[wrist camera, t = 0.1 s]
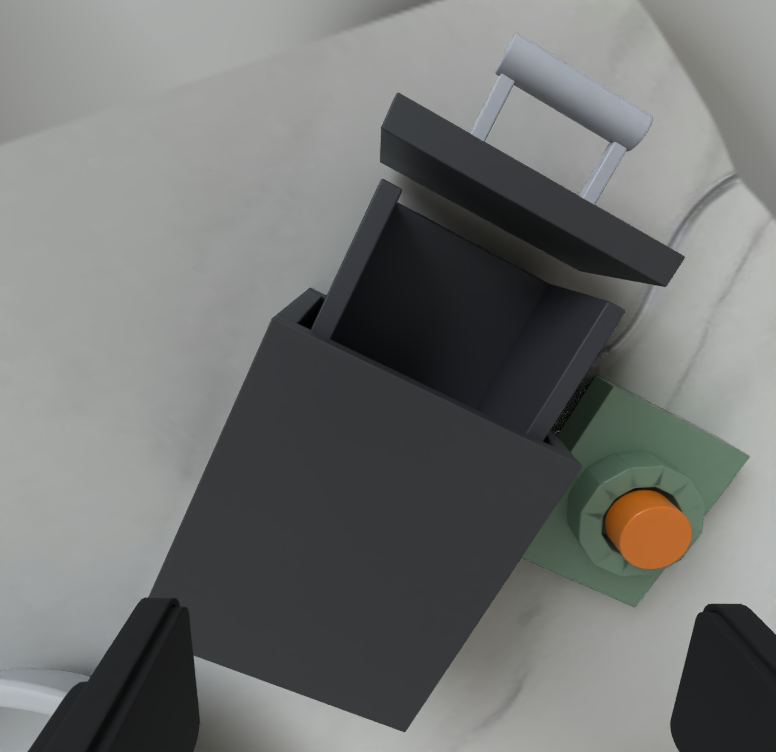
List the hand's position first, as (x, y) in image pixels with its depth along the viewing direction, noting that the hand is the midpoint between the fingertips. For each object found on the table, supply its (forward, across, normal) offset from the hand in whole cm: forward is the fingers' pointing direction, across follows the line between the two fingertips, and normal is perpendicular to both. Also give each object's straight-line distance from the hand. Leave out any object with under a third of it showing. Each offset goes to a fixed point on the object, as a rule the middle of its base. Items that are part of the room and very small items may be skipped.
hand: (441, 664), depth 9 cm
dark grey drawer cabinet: (+19, +2, +4) cm, 20 cm away
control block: (+19, -13, +7) cm, 24 cm away
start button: (+15, -13, +7) cm, 21 cm away
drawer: (+18, -2, -5) cm, 19 cm away
